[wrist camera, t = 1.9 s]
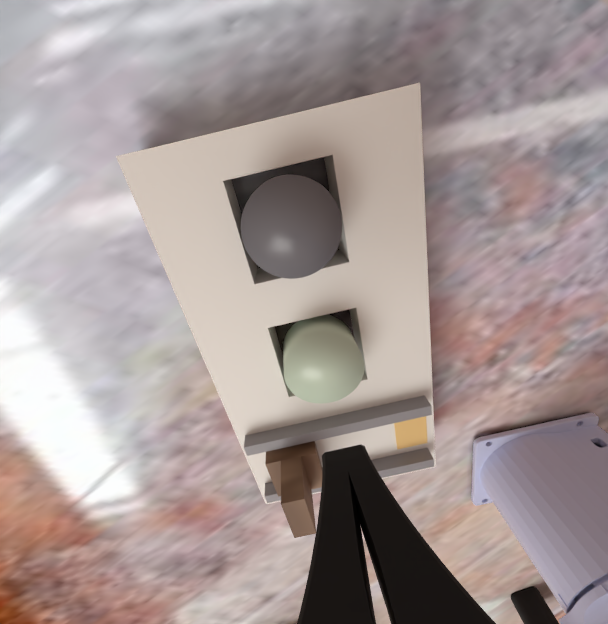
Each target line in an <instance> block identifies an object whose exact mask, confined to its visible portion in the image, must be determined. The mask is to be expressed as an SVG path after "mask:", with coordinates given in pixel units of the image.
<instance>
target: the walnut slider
mask: <svg viewBox="0 0 608 624" xmlns="http://www.w3.org/2000/svg"><path fill="white" fill-rule="evenodd" d="M265 465H266V467H267V470H268V472H269V475H270V477H271V480H272V482H273V485H274V487H275V490H276V492H277V495H278V497H279V496H281V505H282V508H283V510H284V513H285V515H286V518H287V520H288V523H289V525H290V528H291V530H292V533H293V535H294V538H296V537H301V536H306V535H310V534H315V533H316V527H315V518H314V509H313V499H312V490H311V489H316V488H320V487H322V465H321V461H320V458H319V454H318V451H317V447H316V443H315V441H312V442H308V443H303V444H299V445H294V446H290V447H285V448H281V449H276V450H272V451H267V452H266V461H265Z"/></svg>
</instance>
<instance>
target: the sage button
mask: <svg viewBox="0 0 608 624" xmlns="http://www.w3.org/2000/svg"><path fill="white" fill-rule="evenodd" d="M283 363H284V379H285V382H286V385H287V386H288V388H289V389H290V391H291V392H292V393H293V394H294V395H296V396H297V397H298V398H300V399H302V400H304V401H307V402H311V403H320V404H322V403H331V402H335V401H338V400H340V399H342V398H344V397H346V396H348V395H349V394H350V393H352V392H353V391H354V390H355V389H356V388H357V386H358V385H359V384H360V382H361V380H362V377H363V374H364V360H363V357H362V355H361V352H360V350H359V348H358V346H357V344H356V341H355V339H354V337H353V335H352V333H351V331H350V329H349V327H348V326H347V325H346V324H345V323H344V322H343V321H341V320H340V319H338V318H336V317H333V316H330V315H322V316H317V317H313V318H309V319H304V320H300V321H297V322H296V323H295V324H294V325H293V326H292V327H291V328H290V329H289V330H288V332H287V334H286V336H285V338H284V342H283Z"/></svg>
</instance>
